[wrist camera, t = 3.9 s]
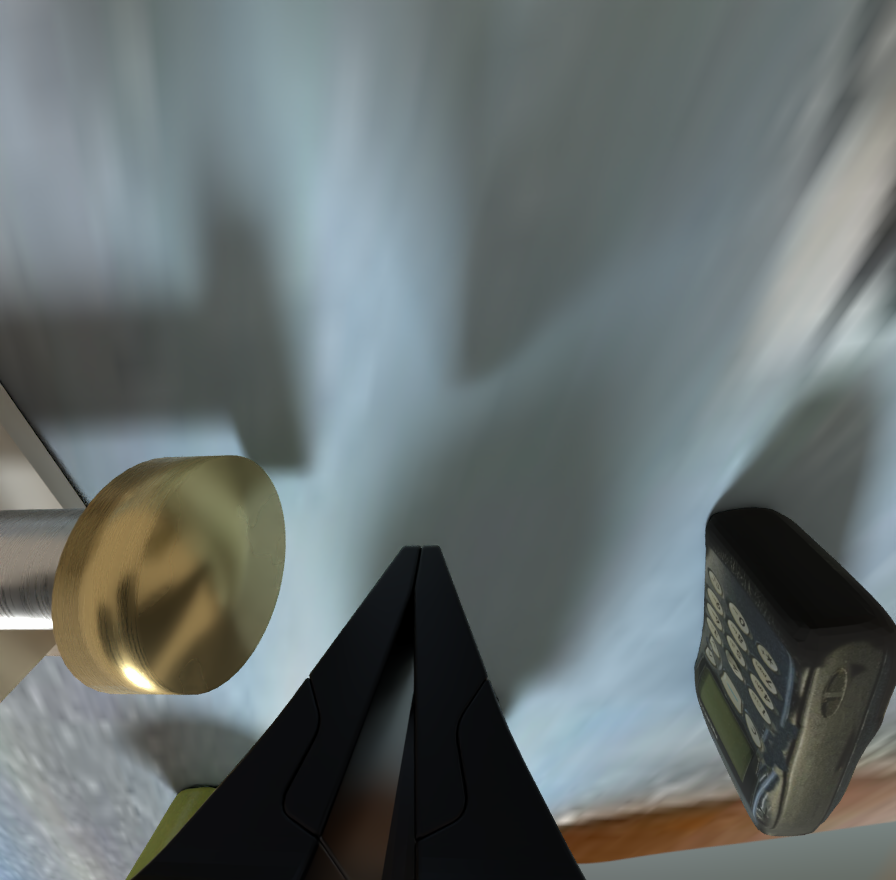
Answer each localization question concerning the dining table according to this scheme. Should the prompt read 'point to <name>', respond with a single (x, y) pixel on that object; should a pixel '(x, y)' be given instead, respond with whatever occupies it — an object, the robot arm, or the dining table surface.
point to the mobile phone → (788, 668)
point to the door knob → (151, 574)
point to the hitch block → (20, 488)
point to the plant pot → (172, 823)
